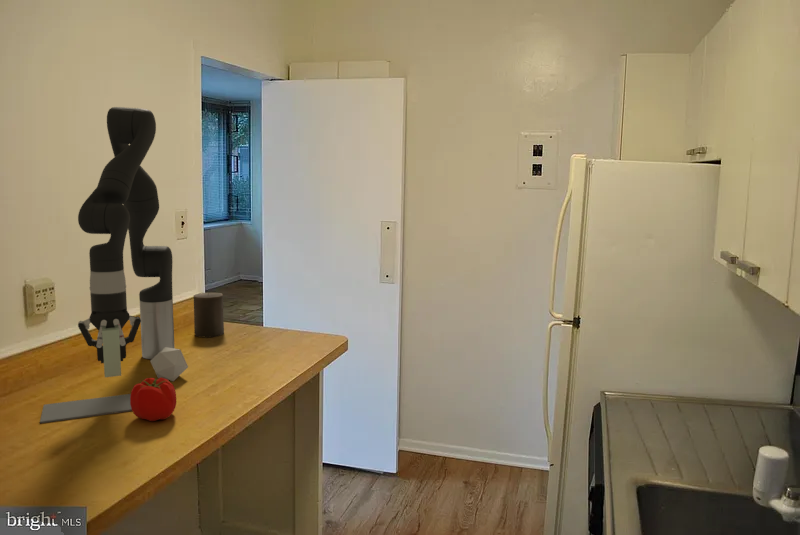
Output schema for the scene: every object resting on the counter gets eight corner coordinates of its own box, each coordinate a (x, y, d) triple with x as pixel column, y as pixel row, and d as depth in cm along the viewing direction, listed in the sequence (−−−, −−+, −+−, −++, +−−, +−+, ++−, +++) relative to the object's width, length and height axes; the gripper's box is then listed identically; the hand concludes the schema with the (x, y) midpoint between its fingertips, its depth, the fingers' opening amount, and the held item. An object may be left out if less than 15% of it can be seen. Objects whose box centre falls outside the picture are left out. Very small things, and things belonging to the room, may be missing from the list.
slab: (104, 368, 149) (101, 324, 148) (120, 367, 151) (118, 322, 149) (104, 377, 143) (101, 330, 142) (121, 375, 145) (119, 329, 143)
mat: (43, 406, 147) (43, 404, 147) (135, 394, 156) (135, 393, 155) (40, 423, 137) (39, 421, 137) (138, 410, 146) (138, 408, 146)
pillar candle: (208, 339, 207) (207, 295, 205) (188, 334, 212) (186, 291, 210) (230, 333, 216) (229, 290, 213) (210, 329, 220) (209, 287, 218)
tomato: (150, 430, 135) (148, 392, 133) (119, 419, 140) (117, 382, 139) (190, 415, 143) (189, 378, 142) (159, 405, 149) (158, 370, 148)
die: (195, 378, 170) (186, 345, 174) (181, 372, 162) (173, 337, 166) (165, 389, 170) (157, 356, 173) (150, 384, 161) (142, 348, 165)
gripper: (140, 285, 151) (143, 353, 153) (74, 288, 145) (78, 360, 147) (142, 290, 144) (145, 362, 147) (73, 294, 138) (77, 369, 140)
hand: (112, 360), depth 147 cm, fingers closed on slab, 3 cm apart
